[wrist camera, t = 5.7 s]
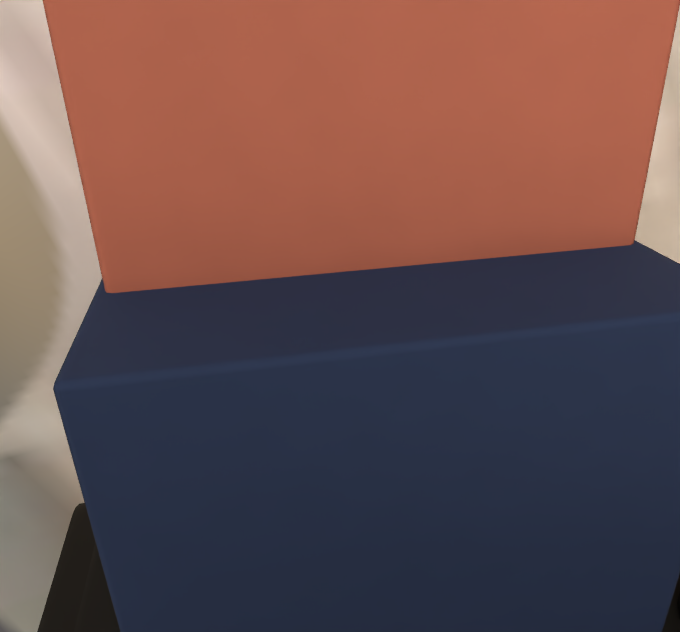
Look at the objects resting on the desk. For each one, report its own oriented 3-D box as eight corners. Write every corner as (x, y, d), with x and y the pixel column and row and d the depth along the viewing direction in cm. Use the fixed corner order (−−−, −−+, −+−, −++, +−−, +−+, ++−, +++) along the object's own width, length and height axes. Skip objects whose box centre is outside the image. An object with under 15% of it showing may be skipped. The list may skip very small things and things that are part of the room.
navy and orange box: (456, 629, 13) (573, 932, 9) (224, 672, 13) (227, 1024, 8) (513, -69, 8) (917, -196, 3) (96, -64, 7) (-123, -221, 2)
